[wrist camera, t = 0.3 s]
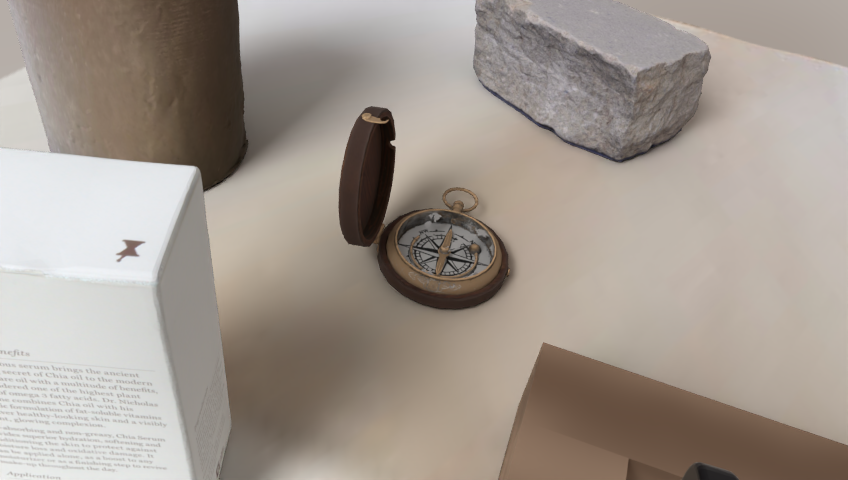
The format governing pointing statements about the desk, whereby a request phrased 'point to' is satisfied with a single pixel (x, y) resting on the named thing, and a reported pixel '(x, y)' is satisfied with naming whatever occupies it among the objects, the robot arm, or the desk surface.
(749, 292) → the desk surface
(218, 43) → the pillar candle
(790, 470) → the holder block
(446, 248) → the dark brown curved piece
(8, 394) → the skincare box
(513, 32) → the decorative stone
